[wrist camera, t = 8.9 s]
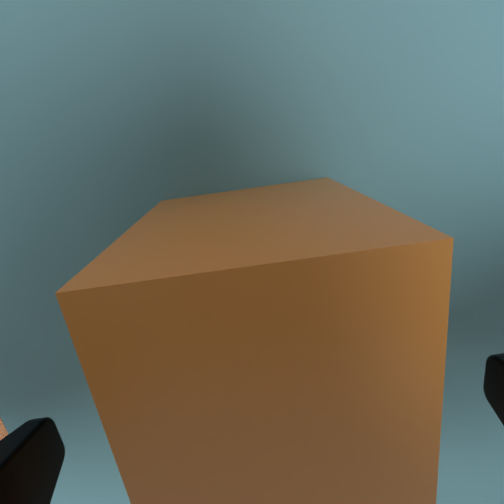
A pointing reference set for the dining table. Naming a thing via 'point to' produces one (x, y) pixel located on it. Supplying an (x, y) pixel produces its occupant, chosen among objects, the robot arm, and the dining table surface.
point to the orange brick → (269, 348)
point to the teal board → (244, 170)
